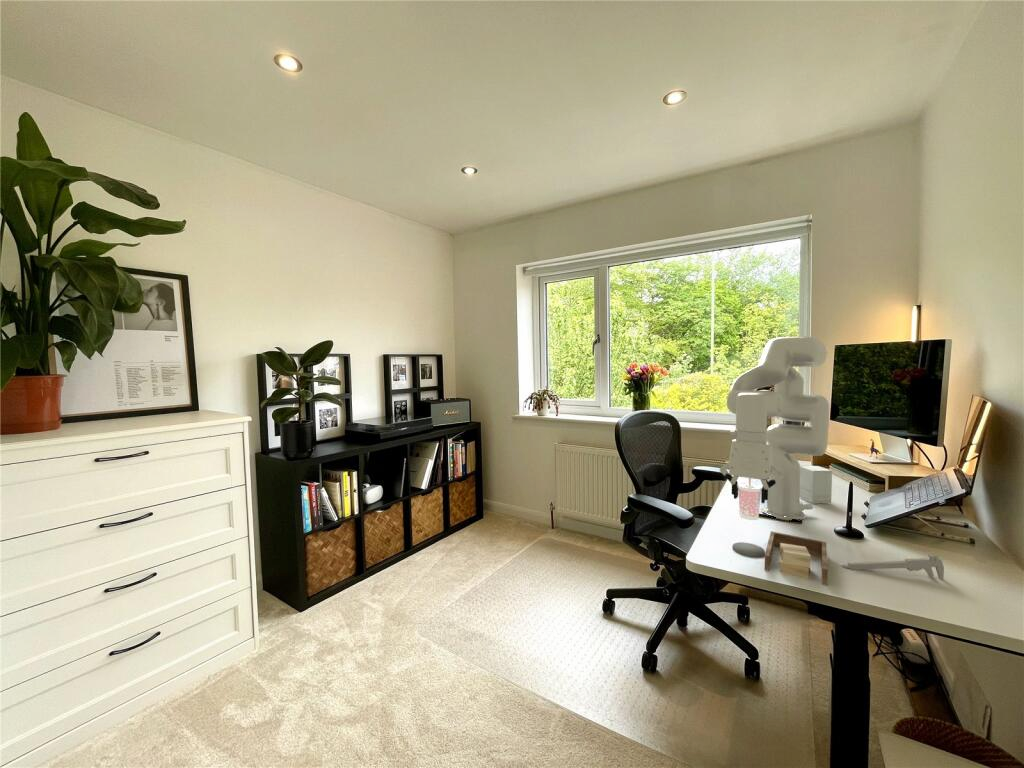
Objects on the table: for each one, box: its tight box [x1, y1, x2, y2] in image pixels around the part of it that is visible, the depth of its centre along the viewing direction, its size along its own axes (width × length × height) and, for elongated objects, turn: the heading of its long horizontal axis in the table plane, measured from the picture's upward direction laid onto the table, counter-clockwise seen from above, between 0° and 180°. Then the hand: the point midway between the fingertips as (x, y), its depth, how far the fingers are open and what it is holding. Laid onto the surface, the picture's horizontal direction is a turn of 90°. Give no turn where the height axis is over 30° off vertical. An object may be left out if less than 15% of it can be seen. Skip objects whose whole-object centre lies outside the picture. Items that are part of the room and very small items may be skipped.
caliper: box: [841, 553, 945, 580], centre depth 106 cm, size 20×1×6 cm, turn 72°
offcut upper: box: [779, 543, 812, 569], centre depth 107 cm, size 6×6×3 cm
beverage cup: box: [737, 478, 763, 521], centre depth 118 cm, size 6×6×14 cm
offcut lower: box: [779, 557, 811, 580], centre depth 107 cm, size 6×6×3 cm
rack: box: [763, 531, 829, 586], centre depth 111 cm, size 18×13×4 cm
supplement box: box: [800, 465, 833, 504], centre depth 159 cm, size 7×7×13 cm
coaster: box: [732, 541, 766, 558], centre depth 119 cm, size 8×8×1 cm
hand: (749, 499), depth 118 cm, fingers closed on beverage cup, 6 cm apart
